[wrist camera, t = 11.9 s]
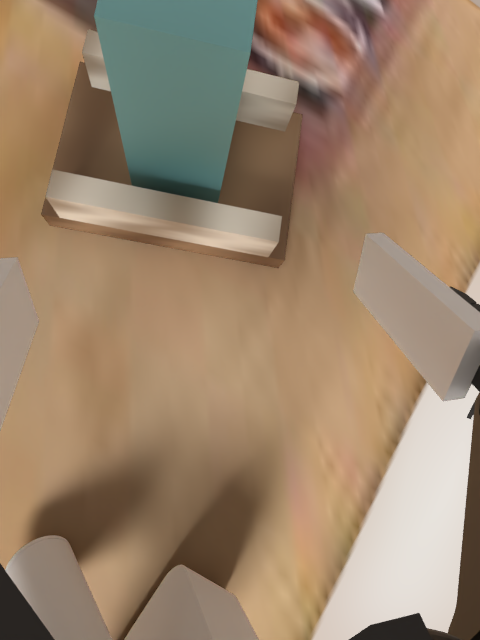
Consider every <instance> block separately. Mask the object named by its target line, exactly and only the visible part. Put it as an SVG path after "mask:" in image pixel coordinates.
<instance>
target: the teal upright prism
mask: <svg viewBox="0 0 480 640" xmlns="http://www.w3.org/2000/svg"><path fill="white" fill-rule="evenodd" d="M256 7H257V0H98V1H97V6H96V10H95V14H94V18H95V22H96V27H97V31H98V36H99V40H100V45H101V49H102V54H103V58H104V63H105V67H106V72H107V76H108V81H109V85H110V89H111V94H112V98H113V103H114V107H115V112H116V116H117V121H118V125H119V130H120V134H121V139H122V143H123V148H124V152H125V157H126V161H127V166H128V170H129V175H130V179H131V184H132V186H136V187H141V188H146V189H151V190H155V191H160V192H165V193H170V194H175V195H180V196H185V197H190V198H195V199H200V200H205V201H210V202H214V203H218V200H219V195H220V191H221V186H222V182H223V177H224V172H225V168H226V163H227V159H228V154H229V149H230V145H231V140H232V135H233V131H234V126H235V122H236V117H237V112H238V108H239V103H240V98H241V94H242V89H243V85H244V80H245V75H246V71H247V66H248V61H249V57H250V52H251V44H252V37H253V29H254V22H255V15H256Z"/></svg>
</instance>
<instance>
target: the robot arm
mask: <svg viewBox="0 0 480 640" xmlns="http://www.w3.org/2000/svg"><path fill="white" fill-rule="evenodd" d="M353 292H354V294H355V295H356V296H357V297H358V298H359V300H360V301H361V302H362V303H363V305H364V306H365V307H366V308H367V309H368V311H369V312H370V313H371V314H372V316H373V317H374V318H375V319H376V320H377V322H378V323H379V324H380V325H381V326H382V328H383V329H384V330H385V331H386V333H387V334H388V335H389V336H390V337H391V339H392V340H393V341H394V342H395V344H396V345H397V346H398V347H399V348H400V350H401V351H402V352H403V353H404V355H405V356H406V357H407V358H408V359H409V361H410V362H411V363H412V364H413V365H414V367H415V368H416V369H417V370H418V372H419V373H420V374H421V375H422V376H423V378H424V379H425V380H426V381H427V383H428V384H429V385H430V386H431V387H432V389H433V390H434V391H435V392H436V394H437V395H438V396H439V397H440V398H441V400H442V401H447V400H455V399H461V398H465V396H466V394H467V392H468V390H469V388H470V386H471V384H473V385H474V386H475V387H476V388H477V389H478V391H479V392H480V305H479V304H476V302H475V301H474V300H473V299H472V298H470V297H469V296H468V295H467V294H465V293H463V292H461V291H459V290H457V289H455V288H453V287H448V286H447V285H446V284H445V283H444V282H442V281H441V280H440V279H439V278H437V277H436V276H435V275H434V274H433V273H431V272H430V271H429V270H428V269H427V268H425V267H424V266H423V265H422V264H420V263H419V262H418V261H417V260H416V259H414V258H413V257H412V256H411V255H410V254H408V253H407V252H406V251H405V250H403V249H402V248H401V247H400V246H399V245H397V244H396V243H395V242H394V241H392V240H391V239H390V238H389V237H388V236H386V235H385V234H384V233H371V234H366V235H365V239H364V244H363V249H362V253H361V258H360V263H359V267H358V272H357V277H356V281H355V286H354V290H353ZM38 323H39V319H38V316H37V313H36V310H35V307H34V304H33V301H32V298H31V295H30V292H29V289H28V286H27V284H26V281H25V278H24V275H23V272H22V269H21V266H20V263H19V260H18V257H13V258H0V430H1V427H2V425H3V422H4V419H5V416H6V413H7V411H8V408H9V405H10V402H11V399H12V397H13V394H14V391H15V388H16V385H17V382H18V380H19V377H20V374H21V371H22V368H23V366H24V363H25V360H26V357H27V354H28V351H29V349H30V346H31V343H32V340H33V337H34V335H35V332H36V329H37V326H38ZM472 415H474V420H473V431H472V443H471V454H470V464H469V476H468V486H467V498H466V508H465V520H464V530H463V541H462V552H461V563H460V574H459V585H458V597H457V605H456V609H455V613H454V616H453V619H452V622H451V624H450V627H449V631H448V634H447V633H445V632H441V631H437V630H432V629H428V628H426V626H425V624H424V622H423V620H422V618H421V616H420V614H419V613H417V614H413V615H409V616H406V617H401V618H398V619H393V620H389V621H385V622H381V623H377V624H373V625H370V626H368V627H367V628H365V629H364V630H362V631H361V632H360V633H358V634H357V635H355V636H354V637H352V638H351V639H349V640H480V393H479V395H478V396H477V398H476V400H475V402H474V404H473V406H472V408H471V410H470V412H469V414H468V416H467V418H469V419H471V417H472ZM0 640H55V639H54V638H53V636H52V635H51V634H50V632H49V631H48V629H47V628H46V627H45V625H44V624H43V622H42V621H41V620H40V618H39V617H38V616H37V614H36V613H35V611H34V610H33V609H32V607H31V606H30V604H29V603H28V602H27V600H26V599H25V597H24V596H23V595H22V593H21V592H20V590H19V589H18V588H17V586H16V585H15V583H14V582H13V581H12V579H11V578H10V576H9V575H8V574H7V572H6V571H5V570H4V568H3V567H2V565H1V564H0Z"/></svg>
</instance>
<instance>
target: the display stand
mask: <svg viewBox="0 0 480 640" xmlns="http://www.w3.org/2000/svg"><path fill="white" fill-rule="evenodd" d="M82 54H83V58H84V61H85V63H83V62H80V64H79V68H78V72H77V75H76V79H75V83H74V87H73V91H72V95H71V99H70V103H69V107H68V111H67V115H66V119H65V123H64V127H63V131H62V134H61V138H60V142H59V146H58V150H57V154H56V158H55V162H54V166H53V170H52V173H51V177H50V181H49V184H48V188H47V192H46V196H45V201H44V205H43V209H42V213H41V215H42V216H43V217H44V219H45V220H46V221H47V222H48V224H49V225H51V226H57V227H62V228H67V229H73V230H78V231H84V232H89V233H94V234H100V235H105V236H110V237H116V238H121V239H127V240H132V241H137V242H143V243H148V244H153V245H159V246H164V247H169V248H175V249H180V250H186V251H191V252H196V253H202V254H207V255H212V256H218V257H223V258H228V259H234V260H239V261H245V262H250V263H255V264H261V265H266V266H271V267H277V268H279V266H280V265H281V264H282V263H283V262H284V260H285V252H286V244H287V236H288V228H289V220H290V212H291V204H292V196H293V188H294V179H295V171H296V163H297V155H298V147H299V139H300V131H301V123H302V114H298V113H293V111H294V109H295V106H296V103H297V95H298V87H299V82H297V81H293V80H289V79H285V78H281V77H277V76H273V75H269V74H265V73H261V72H257V71H253V70H249V69H247V71H246V75H245V80H244V85H243V89H242V94H241V98H240V103H239V108H238V112H237V117H236V122H235V126H234V131H233V135H232V140H231V145H230V149H229V154H228V159H227V163H226V168H225V172H224V177H223V182H222V186H221V191H220V195H219V200H218V203H214V202H210V201H205V200H200V199H195V198H190V197H185V196H180V195H175V194H170V193H165V192H160V191H155V190H151V189H146V188H141V187H136V186H132V184H131V179H130V175H129V170H128V166H127V161H126V157H125V152H124V148H123V143H122V139H121V134H120V130H119V125H118V121H117V116H116V112H115V107H114V103H113V98H112V94H111V89H110V85H109V81H108V76H107V72H106V67H105V63H104V58H103V54H102V49H101V45H100V40H99V36H98V32H96V31H92V30H88V31H87V35H86V39H85V43H84V47H83V51H82Z"/></svg>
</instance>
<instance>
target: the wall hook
mask: <svg viewBox="0 0 480 640" xmlns="http://www.w3.org/2000/svg"><path fill="white" fill-rule="evenodd" d="M5 571H6V572H7V574H8V575H9V576H10V578H11V579H12V581H13V582H14V583H15V585H16V586H17V588H18V589H19V590H20V592H21V593H22V595H23V596H24V597H25V599H26V600H27V602H28V603H29V604H30V606H31V607H32V609H33V610H34V611H35V613H36V614H37V616H38V617H39V618H40V620H41V621H42V622H43V624H44V625H45V627H46V628H47V629H48V631H49V632H50V634H51V635H52V636H53V638H54V639H55V640H112V638H111V636H110V634H109V631H108V629H107V627H106V625H105V622H104V620H103V618H102V616H101V613H100V611H99V609H98V607H97V604H96V602H95V600H94V598H93V595H92V593H91V591H90V589H89V586H88V584H87V582H86V580H85V577H84V575H83V573H82V571H81V569H80V566H79V564H78V562H77V560H76V557H75V555H74V553H73V551H72V548H71V546H70V544H69V542H68V541H67V540H66V539H65V538H63V537H61V536H56V535H49V536H44V537H40V538H37V539H35V540H33V541H31V542H29V543H28V544H26V545H25V546H23V547H22V548H21V549H19V550H18V551H17V552H16V553H15V555H14V556H13V557H12V558H11V560H10V561H9V563H8V565H7V567H6V569H5ZM124 640H259V639H258V637H257V635H256V633H255V631H254V629H253V628H252V626H251V624H250V622H249V620H248V618H247V616H246V614H245V612H244V610H243V609H242V607H241V605H240V603H239V601H238V599H237V597H236V596H235V595H234V594H232V593H231V592H229V591H227V590H225V589H224V588H222V587H220V586H218V585H217V584H215V583H213V582H212V581H210V580H208V579H206V578H205V577H203V576H201V575H199V574H198V573H196V572H194V571H193V570H191V569H189V568H187V567H186V566H184V565H177V566H175V567H174V568H172V569H171V570H170V571H169V572H168V574H167V575H166V576H165V578H164V579H163V581H162V582H161V584H160V585H159V587H158V588H157V590H156V591H155V593H154V594H153V596H152V597H151V599H150V600H149V602H148V604H147V605H146V607H145V608H144V610H143V611H142V613H141V614H140V616H139V617H138V619H137V620H136V622H135V623H134V625H133V627H132V628H131V630H130V631H129V633H128V634H127V636H126V637H125V639H124Z"/></svg>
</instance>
